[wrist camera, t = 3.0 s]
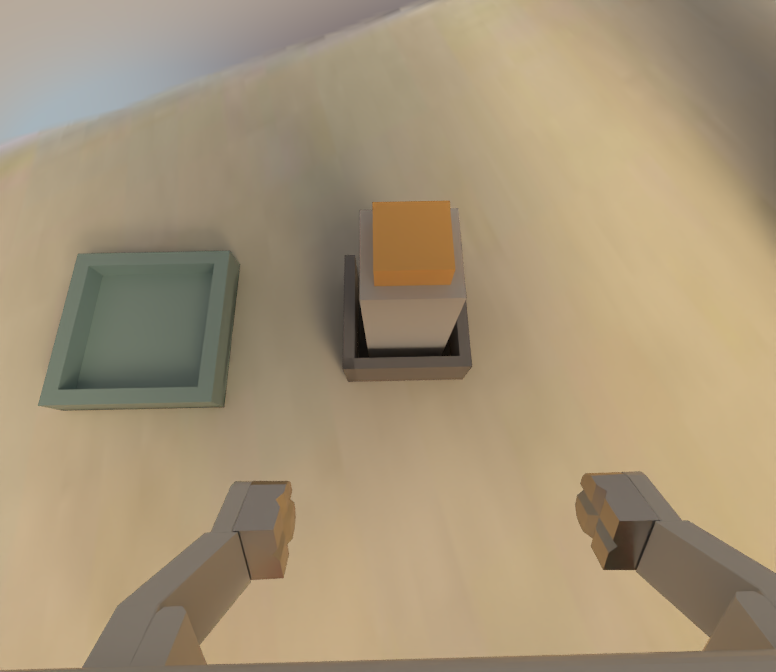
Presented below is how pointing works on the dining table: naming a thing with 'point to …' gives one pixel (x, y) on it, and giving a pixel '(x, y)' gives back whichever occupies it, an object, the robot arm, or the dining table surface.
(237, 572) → the robot arm
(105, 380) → the tray
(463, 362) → the bay
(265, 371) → the dining table surface
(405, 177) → the dining table surface
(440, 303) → the grey pillar orange cap
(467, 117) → the dining table surface
